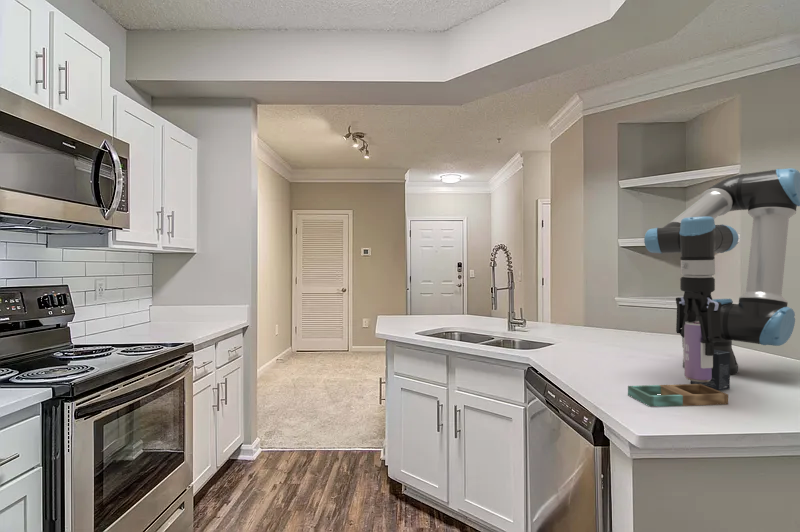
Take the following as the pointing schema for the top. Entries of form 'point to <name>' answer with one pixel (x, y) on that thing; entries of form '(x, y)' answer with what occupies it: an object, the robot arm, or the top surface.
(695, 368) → the beverage can
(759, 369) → the top surface
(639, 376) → the top surface
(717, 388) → the box
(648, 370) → the top surface
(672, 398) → the holder board
